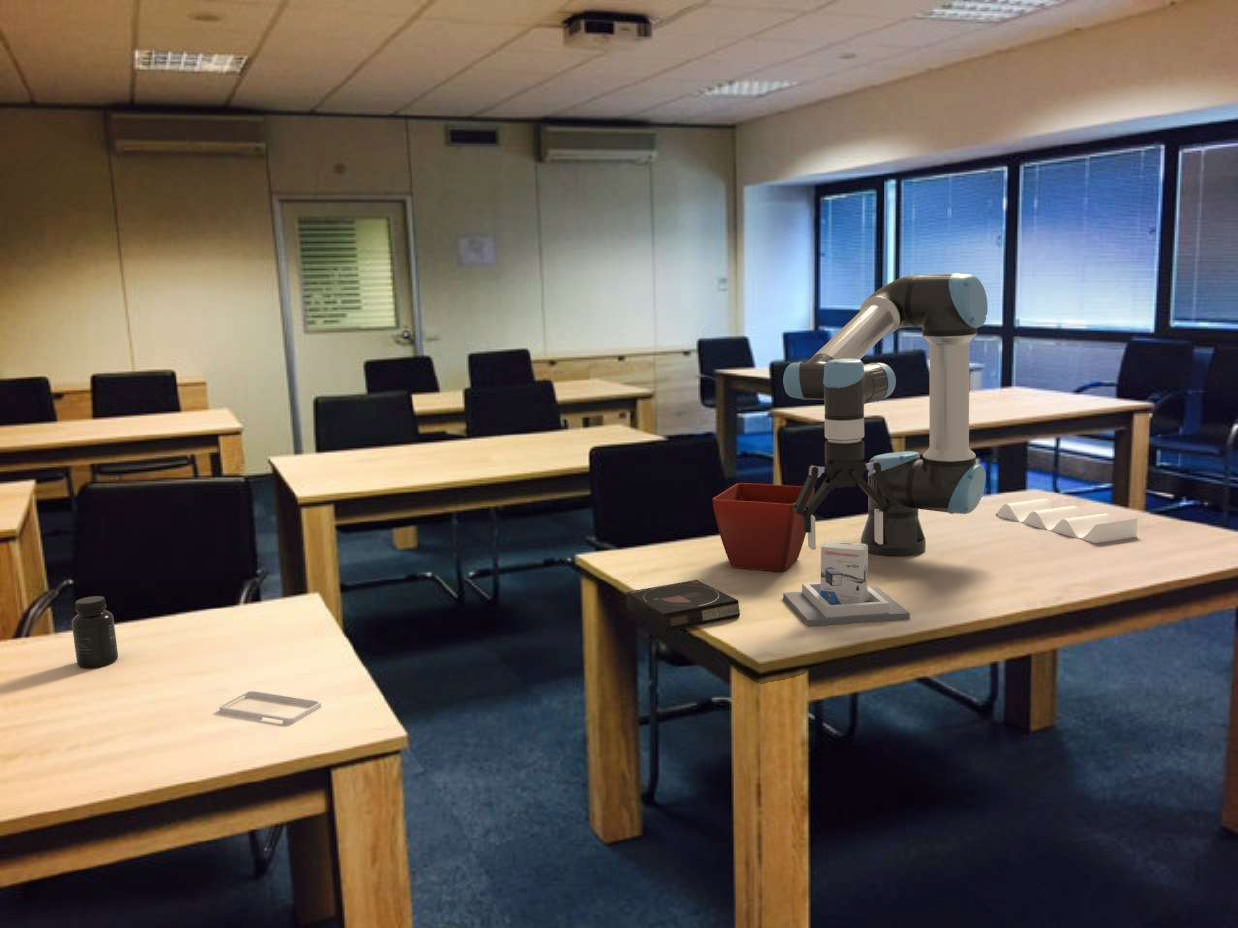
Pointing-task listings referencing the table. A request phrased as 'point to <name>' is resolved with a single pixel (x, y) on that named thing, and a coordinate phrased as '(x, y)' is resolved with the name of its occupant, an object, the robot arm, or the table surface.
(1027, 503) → the white wavy ridged block
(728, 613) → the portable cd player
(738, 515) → the plant pot
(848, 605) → the square ring on plate
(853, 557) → the ink box
